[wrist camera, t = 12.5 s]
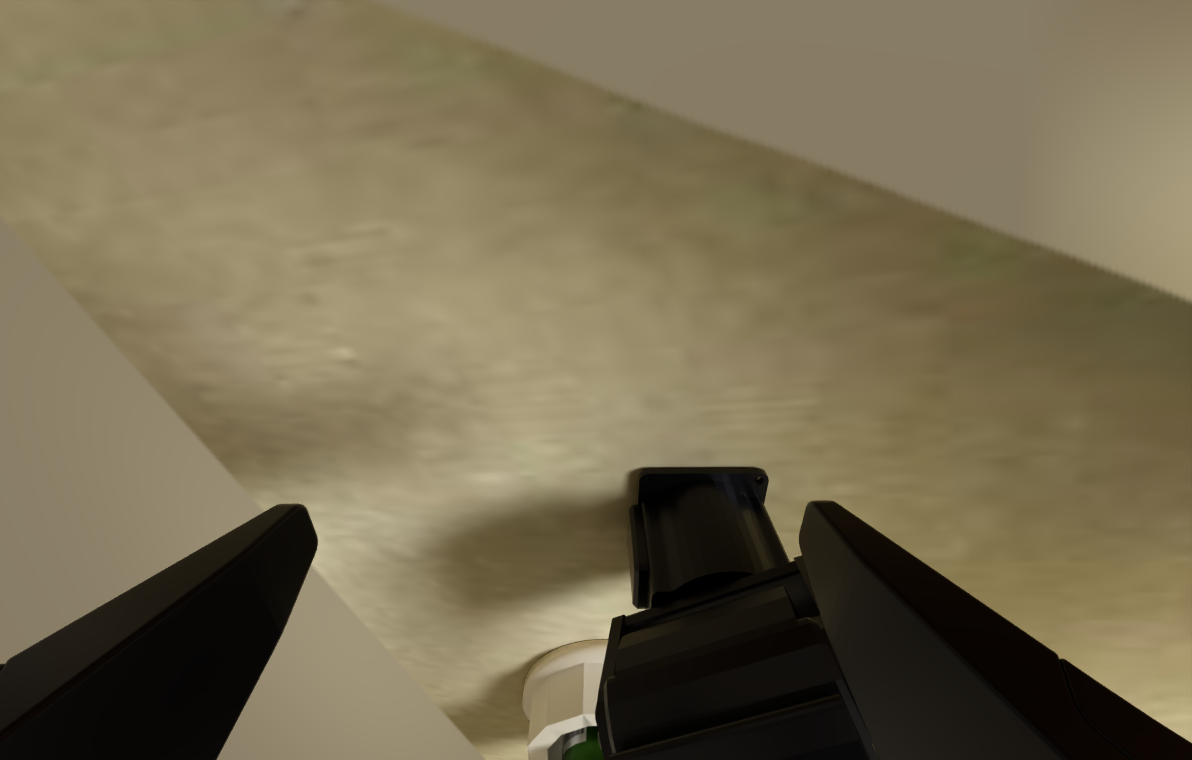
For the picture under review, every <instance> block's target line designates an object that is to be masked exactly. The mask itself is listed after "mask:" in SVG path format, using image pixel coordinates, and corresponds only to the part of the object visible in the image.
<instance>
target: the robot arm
mask: <svg viewBox="0 0 1192 760" xmlns="http://www.w3.org/2000/svg"><path fill="white" fill-rule="evenodd" d="M757 477H761V478H760V479H758V480H754V479H755V478H757ZM646 478H652V479H651V480H648V481H647V480H645V479H646ZM768 481H769V480H768V476H767V474H766V472H765V471H764V470H763V469H760V468H681V469H644V470H642V471H641V472H640V473H639V476H638V495H637V505H632V506H631V508H630V509H629V523H628V551H629V564H630V577H631V590H632V603H633V605H634V606H635V607H636V608H637V609H646V610H644V611H641V612H638V613H635V614H632V615H629V616H625V615H621V616H618V617H615V618H613V619H612V623H611V628H610V633H609V638H608V644H607V649H606V654H605V659H604V664H603V669H602V675H601V680H600V685H599V690H598V698H597V704H596V709H595V720H596V724H597V727H598V742H599V746H600V748H601V750H602V753H603V756H604V760H1192V743H1191V742H1189V741H1187V740H1186V739H1184V738H1183V737H1181V736H1180V735H1178V734H1176V733H1175V732H1173V731H1172V730H1170V729H1169V728H1167V727H1165V726H1164V725H1162V724H1161V723H1159V722H1158V721H1156V720H1154V719H1153V718H1151V717H1150V716H1148V715H1147V714H1145V713H1144V712H1142V711H1141V710H1139V709H1138V708H1136V707H1135V706H1133V705H1132V704H1130V703H1129V702H1127V701H1126V700H1124V699H1123V698H1121V697H1120V696H1118V695H1117V694H1115V693H1114V692H1112V691H1111V690H1109V689H1108V688H1106V687H1105V686H1103V685H1102V684H1100V683H1099V682H1097V681H1096V680H1094V679H1093V678H1091V677H1090V676H1089V675H1087V674H1086V673H1084V672H1083V671H1081V670H1080V669H1078V668H1077V667H1075V666H1074V665H1073V664H1071V663H1070V662H1068V661H1067V660H1065V659H1059V657H1058V655H1057V654H1056V653H1055V652H1053V651H1052V650H1050V649H1049V648H1047V647H1046V646H1045V645H1043V644H1042V643H1040V642H1039V641H1037V640H1036V639H1034V638H1033V637H1031V636H1030V635H1029V634H1027V633H1026V632H1024V631H1023V630H1021V629H1020V628H1018V627H1017V626H1015V625H1014V624H1012V623H1011V622H1010V621H1008V620H1007V619H1005V618H1004V617H1002V616H1001V615H999V614H998V613H996V612H995V611H994V610H992V609H991V608H989V607H988V606H986V605H985V604H983V603H982V602H980V601H979V600H978V599H976V598H975V597H973V596H972V595H970V594H969V593H967V592H966V591H964V590H963V589H961V588H960V587H959V586H957V585H956V584H954V583H953V582H951V581H950V580H948V579H947V578H945V577H944V576H943V575H941V574H940V573H938V572H937V571H935V570H934V569H932V568H931V567H929V566H928V565H926V564H925V563H924V562H922V561H921V560H919V559H918V558H916V557H915V556H913V555H912V554H910V553H909V552H908V551H906V550H905V549H903V548H902V547H900V546H899V545H897V544H896V543H894V542H893V541H891V540H890V539H889V538H887V537H886V536H884V535H883V534H881V533H880V532H878V531H877V530H875V529H874V528H873V527H871V526H870V525H868V524H867V523H865V522H864V521H862V520H861V519H859V518H858V517H857V516H855V515H854V514H852V513H851V512H849V511H848V510H846V509H845V508H843V507H842V506H840V505H839V504H838V503H836V502H834V501H811V502H809V503H808V504H807V506H806V510H805V513H804V517H803V521H802V525H801V529H800V533H799V545H800V549H801V553H802V555H801V556H798V557H795V558H794V560H795V561H792V562H790V561H789V559H788V557H787V554H786V552H785V550H784V548H783V546H782V543H781V541H780V539H779V537H778V535H777V532H776V530H775V528H774V526H773V524H772V521H771V519H770V517H769V515H768V513H767V511H766V508H765V506H764V501H765V496H766V491H767V486H768ZM317 546H318V538H317V534H316V532H315V529H314V526H313V524H312V521H311V518H310V516H309V513H308V510H307V508H306V507H305V506H304V505H302V504H279V505H276V506H274V507H272V508H270V509H269V510H267V511H265V512H263V513H262V514H260V515H258V516H257V517H255V518H253V519H251V520H250V521H248V522H246V523H245V524H243V525H241V526H239V527H237V528H236V529H234V530H232V531H231V532H229V533H227V534H225V535H223V536H222V537H220V538H218V539H217V540H215V541H213V542H212V543H210V544H208V545H206V546H204V547H203V548H201V549H199V550H197V551H196V552H194V553H192V554H190V555H189V556H187V557H185V558H184V559H182V560H180V561H178V562H177V563H175V564H173V565H171V566H170V567H168V568H166V569H165V570H163V571H161V572H159V573H157V574H156V575H154V576H152V577H151V578H149V579H147V580H145V581H144V582H142V583H140V584H138V585H137V586H135V587H133V588H131V589H130V590H128V591H126V592H125V593H123V594H121V595H119V596H118V597H116V598H114V599H113V600H111V601H109V602H107V603H105V604H104V605H102V606H100V607H98V608H97V609H95V610H93V611H91V612H90V613H88V614H86V615H85V616H83V617H81V618H80V619H78V620H76V621H74V622H72V623H71V624H69V625H67V626H65V627H64V628H62V629H60V630H59V631H57V632H55V633H53V634H52V635H50V636H48V637H46V638H45V639H43V640H41V641H39V642H38V643H36V644H34V645H33V646H31V647H29V648H27V649H26V650H24V651H22V652H20V653H19V654H17V655H15V656H13V657H12V658H10V659H9V660H8V661H7V662H6V664H0V760H217V758H218V755H219V754H220V752H221V750H222V748H223V746H224V744H225V742H226V741H227V739H228V737H229V735H230V733H231V731H232V729H233V727H234V725H235V723H236V722H237V720H238V718H239V716H240V714H241V712H242V710H243V708H244V706H245V704H246V702H247V701H248V699H249V697H250V694H251V693H252V691H253V689H254V687H255V685H256V683H257V682H258V680H259V678H260V676H261V674H262V672H263V670H264V668H265V666H266V664H267V662H268V661H269V659H270V657H271V655H272V653H273V651H274V649H275V647H276V645H277V643H278V641H279V639H280V637H281V635H282V633H283V631H284V628H285V626H286V624H287V622H288V619H289V617H290V614H291V612H292V609H293V607H294V604H295V602H296V600H297V597H298V595H299V592H300V589H301V587H302V585H303V583H304V580H305V578H306V575H307V573H308V570H309V568H310V565H311V563H312V561H313V558H314V556H315V553H316V550H317ZM873 745H874V746H873ZM874 748H875V749H874ZM875 750H876V751H875ZM876 752H877V753H876Z"/></svg>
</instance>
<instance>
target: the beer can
mask: <svg viewBox="0 0 1192 760" xmlns="http://www.w3.org/2000/svg"><path fill="white" fill-rule="evenodd" d="M562 760H604V756H603V753H602V750H601V748H600V746H599V742H598V727H597V726H587V727H584V728H581V729H578V730H575V731H572V732H569V733H566V734H563V746H562Z"/></svg>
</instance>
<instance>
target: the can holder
mask: <svg viewBox="0 0 1192 760" xmlns="http://www.w3.org/2000/svg"><path fill="white" fill-rule="evenodd" d="M607 644H608V640H589V641H581V642H577V643H572V644H569V645H566V646H563V647H560V648H558V649H555V650H553V651H551V652H550V653H548V654H546V655H544V656H543V657H542V658H540V659H539V660H538V661H537V662H536V663H535V664H534V665H533V666H532V667H531V669H530V670H529V672H528V674H527V676H526V679H525V684H524V691H523V698H522V706H523V710H524V713H525V715H526V717H527V719H528V720H529V722H530V726H529V735H528V743H527V750H528V757H529V760H562V746H563V734H566V733H569V732H572V731H575V730H578V729H581V728H584V727H587V726H597V724H596V720H595V709H596V704H597V698H598V690H599V685H600V680H601V675H602V669H603V664H604V659H605V654H606V649H607Z"/></svg>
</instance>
